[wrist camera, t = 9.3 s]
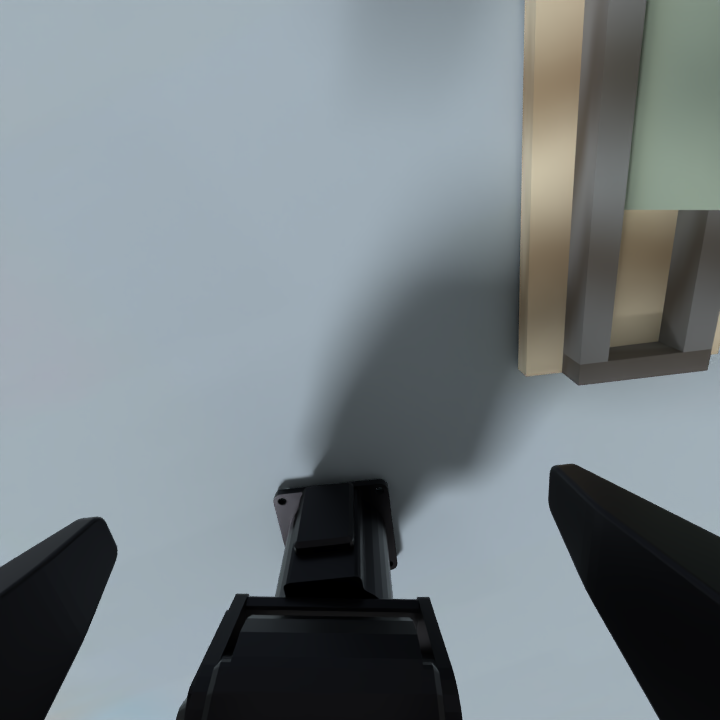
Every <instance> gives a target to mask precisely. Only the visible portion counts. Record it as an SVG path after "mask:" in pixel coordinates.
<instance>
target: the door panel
mask: <svg viewBox="0 0 720 720" xmlns="http://www.w3.org/2000/svg"><path fill="white" fill-rule="evenodd" d="M624 210H720V0H646V10H645V19H644V29H643V38H642V47H641V57H640V66H639V75H638V85H637V94H636V104H635V113H634V122H633V132H632V141H631V151H630V160H629V169H628V179H627V188H626V197H625V207H624Z"/></svg>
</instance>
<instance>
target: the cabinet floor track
mask: <svg viewBox="0 0 720 720" xmlns="http://www.w3.org/2000/svg"><path fill="white" fill-rule="evenodd" d="M645 10H646V0H525V24H524V78H523V132H522V186H521V240H520V294H519V348H518V369H519V370H520V371H521V372H522V373H523V374H524V375H525V376H526V377H527V376H536V375H544V374H553V373H561V372H562V373H563V374H565V375H566V376H567V377H568V378H570V379H571V380H572V381H573V382H575V383H576V384H577V385H587V384H595V383H604V382H612V381H621V380H629V379H638V378H646V377H654V376H663V375H671V374H680V373H688V372H697V371H705V370H708V365H709V360H710V356H711V355H712V354H718V350H719V346H720V210H624V207H625V197H626V188H627V179H628V169H629V160H630V151H631V141H632V132H633V122H634V113H635V104H636V94H637V85H638V75H639V66H640V57H641V47H642V38H643V29H644V19H645Z"/></svg>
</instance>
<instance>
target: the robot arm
mask: <svg viewBox="0 0 720 720" xmlns="http://www.w3.org/2000/svg"><path fill="white" fill-rule="evenodd" d="M378 487H381V488H382V489H381V490H377V489H376V488H378ZM280 498H284V499H286V500H285V501H284V500H281V499H280ZM548 502H549V508H550V511H551V513H552V516H553V518H554V520H555V522H556V525H557V527H558V529H559V531H560V534H561V536H562V538H563V540H564V543H565V545H566V547H567V549H568V552H569V554H570V556H571V558H572V561H573V563H574V565H575V567H576V570H577V572H578V574H579V576H580V578H581V581H582V583H583V585H584V587H585V589H586V591H587V593H588V595H589V596H590V598H591V600H592V602H593V604H594V606H595V607H596V609H597V611H598V613H599V614H600V616H601V618H602V620H603V621H604V623H605V625H606V627H607V628H608V630H609V632H610V634H611V635H612V637H613V639H614V641H615V642H616V644H617V646H618V648H619V649H620V651H621V653H622V655H623V656H624V658H625V660H626V662H627V663H628V665H629V667H630V669H631V670H632V672H633V674H634V676H635V677H636V679H637V681H638V683H639V684H640V686H641V688H642V690H643V691H644V693H645V695H646V697H647V698H648V700H649V702H650V704H651V705H652V707H653V709H654V711H655V713H656V714H657V716H658V718H659V720H720V537H719V536H717V535H715V534H713V533H711V532H709V531H707V530H705V529H703V528H701V527H699V526H697V525H695V524H693V523H691V522H689V521H687V520H685V519H683V518H681V517H679V516H677V515H675V514H673V513H671V512H669V511H667V510H665V509H663V508H661V507H659V506H657V505H655V504H653V503H651V502H649V501H647V500H645V499H643V498H641V497H639V496H637V495H635V494H633V493H631V492H629V491H627V490H625V489H623V488H621V487H619V486H617V485H615V484H613V483H611V482H609V481H607V480H605V479H603V478H601V477H599V476H597V475H595V474H593V473H592V472H590V471H588V470H586V469H584V468H582V467H580V466H578V465H575V464H564V465H555V466H553V467H552V468H551V470H550V477H549V495H548ZM274 506H275V510H276V514H277V518H278V522H279V526H280V529H281V533H282V537H283V541H284V545H285V551H284V556H283V560H282V565H281V570H280V575H279V580H278V584H277V589H276V594H275V597H260V596H249V594H236V595H235V597H234V600H233V602H232V604H231V606H230V608H229V610H227V611H226V613H225V615H224V617H223V619H222V621H221V623H220V625H219V627H218V629H217V631H216V633H215V636H214V638H213V640H212V642H211V644H210V646H209V648H208V650H207V652H206V654H205V656H204V659H203V661H202V663H201V665H200V667H199V669H198V671H197V673H196V675H195V677H194V679H193V681H192V684H191V686H190V688H189V692H188V696H187V698H186V699H185V701H184V702H183V704H182V705H181V706H180V708H179V711H178V714H177V718H176V720H462V712H461V706H460V700H459V694H458V689H457V684H456V680H455V676H454V673H453V669H452V666H451V663H450V660H449V657H448V653H447V650H446V647H445V644H444V641H443V638H442V635H441V632H440V629H439V626H438V623H437V620H436V617H435V613H434V610H433V607H432V604H431V601H430V598H429V597H417V599H393V594H392V584H391V573H390V570H392V569H394V568H396V566H397V556H396V548H395V540H394V532H393V524H392V516H391V508H390V500H389V492H388V485H387V482H386V481H385V480H382V479H374V480H365V481H356V482H347V483H338V484H329V485H320V486H311V487H303V488H294V489H285V490H280V491H278V492H276V494H275V497H274ZM116 558H117V546H116V543H115V541H114V539H113V537H112V534H111V532H110V530H109V528H108V526H107V524H106V522H105V520H104V519H103V518H101V517H90V518H82V519H78V520H76V521H74V522H73V523H71V524H70V525H68V526H66V527H65V528H63V529H61V530H60V531H58V532H57V533H55V534H53V535H52V536H50V537H48V538H47V539H45V540H44V541H42V542H40V543H39V544H37V545H35V546H34V547H32V548H31V549H29V550H27V551H26V552H24V553H22V554H21V555H19V556H18V557H16V558H14V559H13V560H11V561H9V562H8V563H6V564H5V565H3V566H1V567H0V720H44V719H45V717H46V715H47V713H48V711H49V709H50V707H51V705H52V703H53V701H54V699H55V697H56V695H57V693H58V691H59V689H60V687H61V685H62V683H63V681H64V679H65V677H66V675H67V673H68V671H69V669H70V667H71V665H72V663H73V661H74V659H75V657H76V655H77V653H78V651H79V649H80V647H81V645H82V643H83V641H84V638H85V636H86V633H87V631H88V629H89V626H90V624H91V621H92V619H93V616H94V614H95V611H96V609H97V606H98V604H99V601H100V599H101V596H102V594H103V591H104V589H105V586H106V584H107V581H108V579H109V576H110V574H111V571H112V569H113V566H114V564H115V561H116ZM389 561H390V562H389Z"/></svg>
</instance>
